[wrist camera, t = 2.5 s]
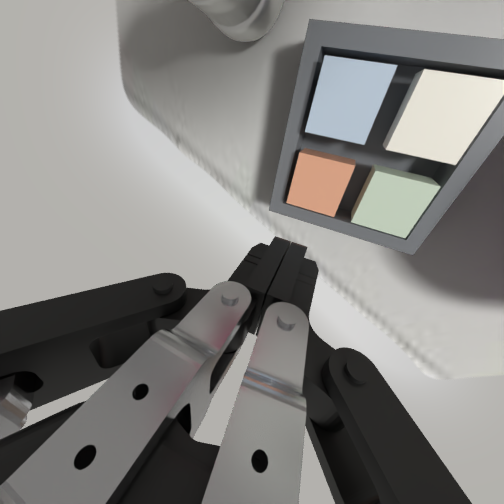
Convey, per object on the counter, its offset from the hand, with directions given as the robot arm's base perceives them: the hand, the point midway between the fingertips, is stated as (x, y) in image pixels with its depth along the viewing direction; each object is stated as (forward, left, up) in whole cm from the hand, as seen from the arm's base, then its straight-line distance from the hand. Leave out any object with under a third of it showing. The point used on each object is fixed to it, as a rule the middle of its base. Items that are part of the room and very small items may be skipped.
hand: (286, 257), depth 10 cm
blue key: (-6, 0, -14) cm, 15 cm away
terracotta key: (0, 0, -14) cm, 14 cm away
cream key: (-6, +6, -14) cm, 16 cm away
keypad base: (-3, +3, -17) cm, 17 cm away
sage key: (0, +6, -14) cm, 15 cm away
